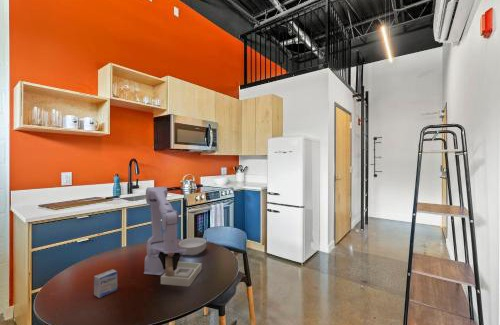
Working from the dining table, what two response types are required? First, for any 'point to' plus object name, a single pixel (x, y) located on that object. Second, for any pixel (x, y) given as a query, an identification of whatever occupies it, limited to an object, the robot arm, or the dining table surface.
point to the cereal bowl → (193, 245)
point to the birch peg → (169, 266)
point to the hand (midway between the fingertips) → (170, 269)
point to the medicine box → (105, 283)
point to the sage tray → (183, 274)
